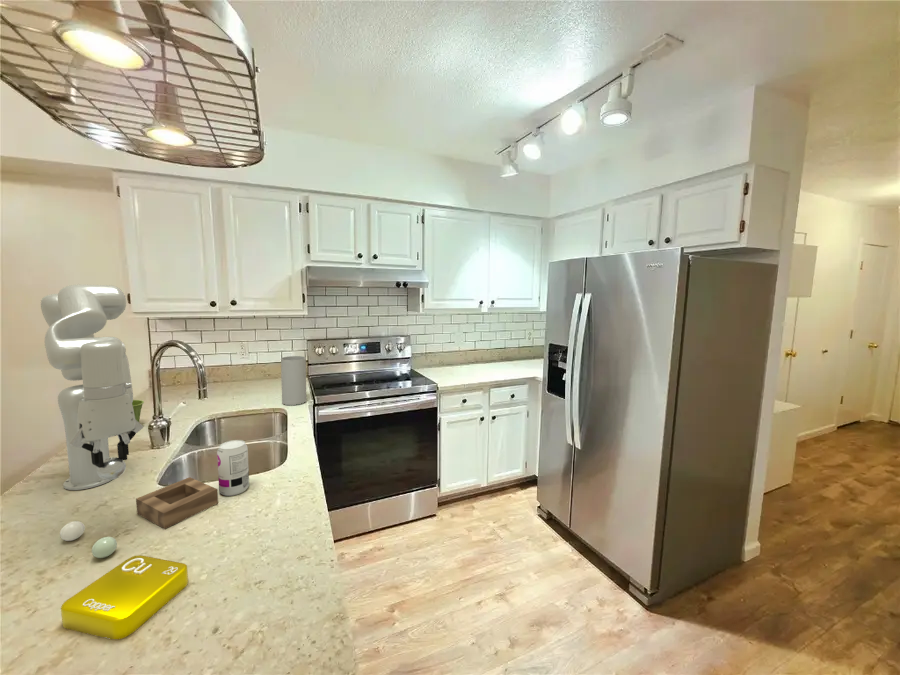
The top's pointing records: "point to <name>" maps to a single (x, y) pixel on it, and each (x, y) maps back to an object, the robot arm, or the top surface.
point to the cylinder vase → (293, 380)
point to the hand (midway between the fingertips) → (111, 461)
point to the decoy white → (72, 531)
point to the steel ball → (111, 468)
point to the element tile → (124, 597)
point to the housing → (176, 502)
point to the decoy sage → (104, 547)
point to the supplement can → (233, 467)
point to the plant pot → (137, 408)
